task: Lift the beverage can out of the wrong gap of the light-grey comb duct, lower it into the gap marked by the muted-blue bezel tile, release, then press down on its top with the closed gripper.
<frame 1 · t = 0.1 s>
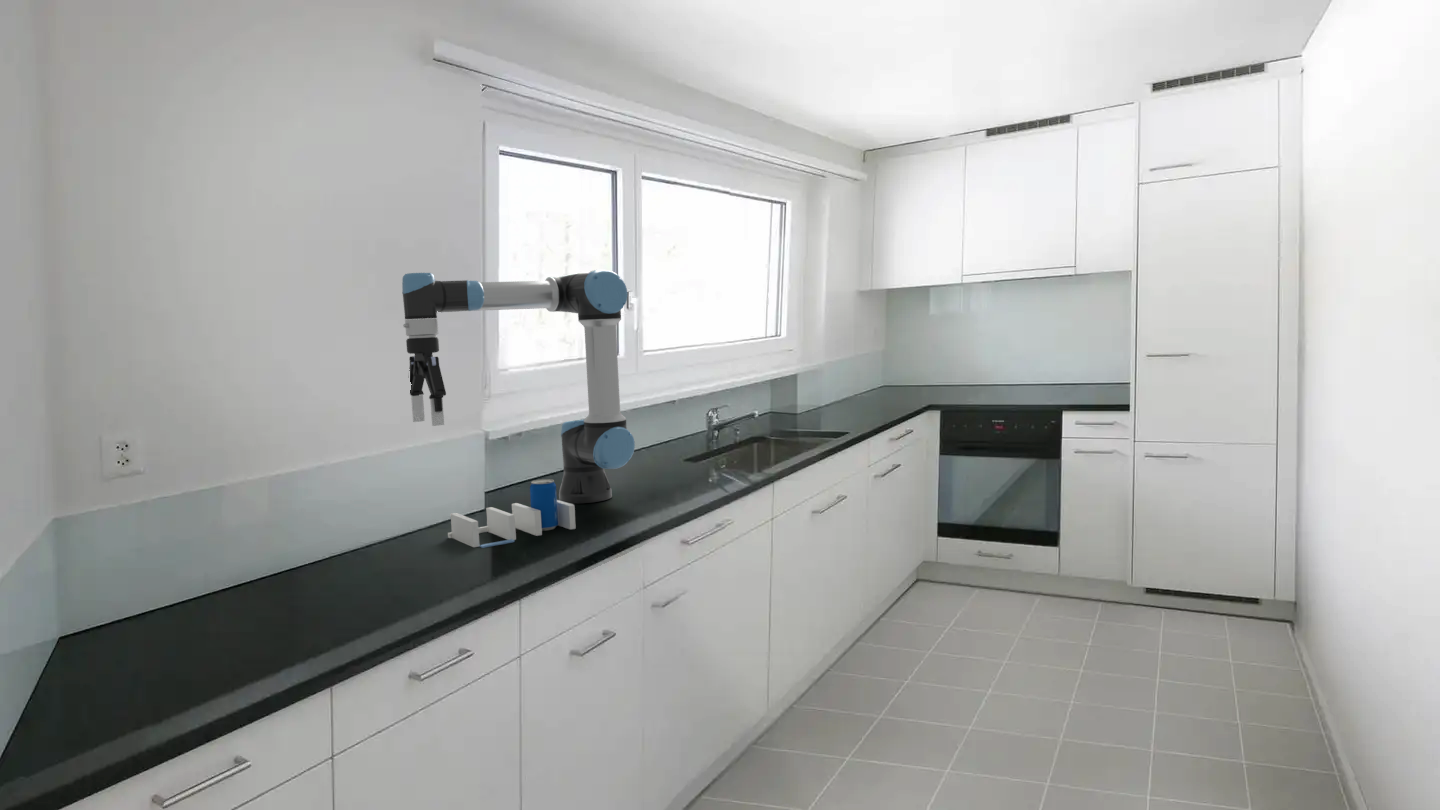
hand: (428, 423, 238), 28 cm above the countertop, fingers open, 13 cm apart
beverage can: (545, 529, 243), resting in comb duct
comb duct: (515, 533, 239), on the countertop
blue bezel: (497, 544, 228), on the countertop
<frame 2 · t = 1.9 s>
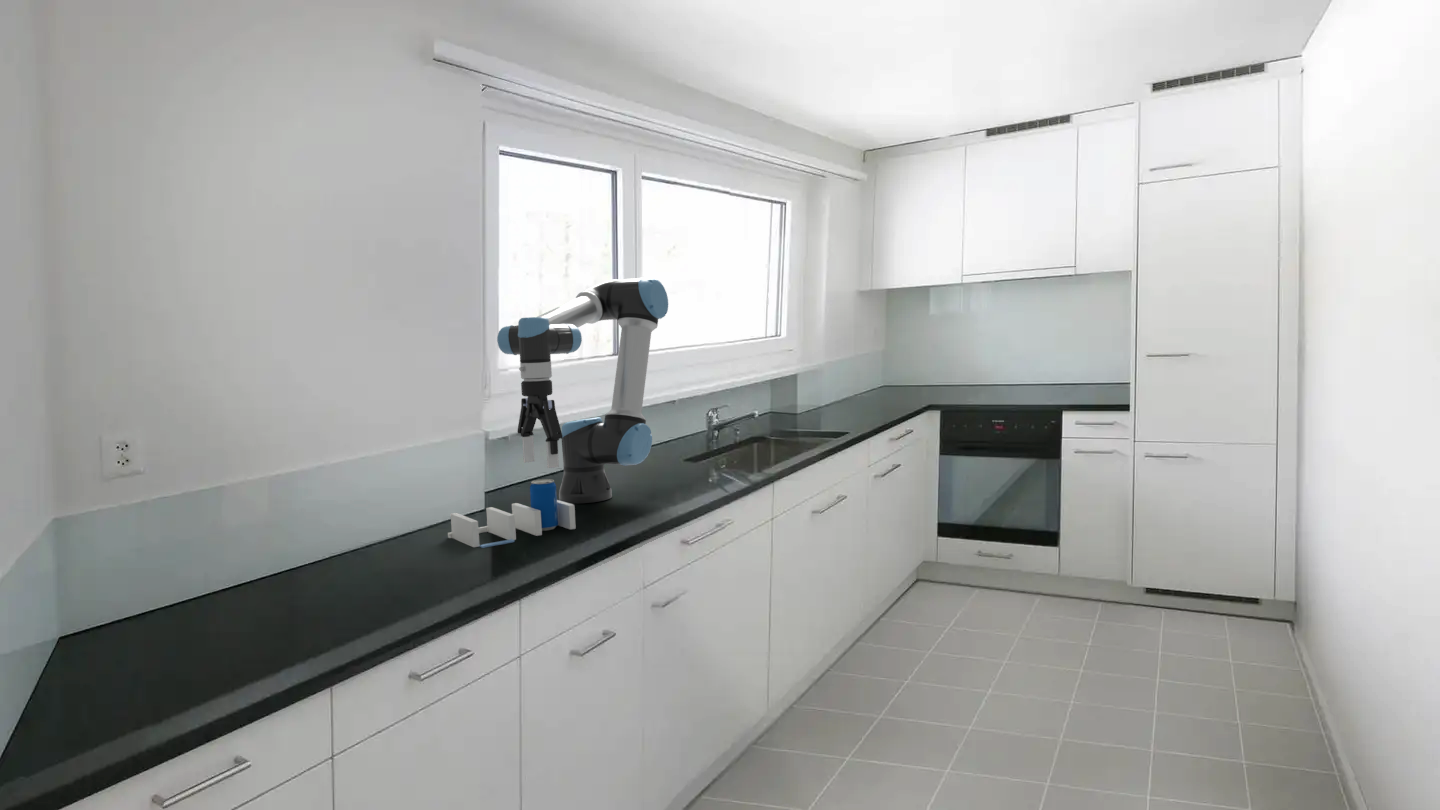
hand: (540, 464, 242), 16 cm above the countertop, fingers open, 13 cm apart
nothing on the countertop moved.
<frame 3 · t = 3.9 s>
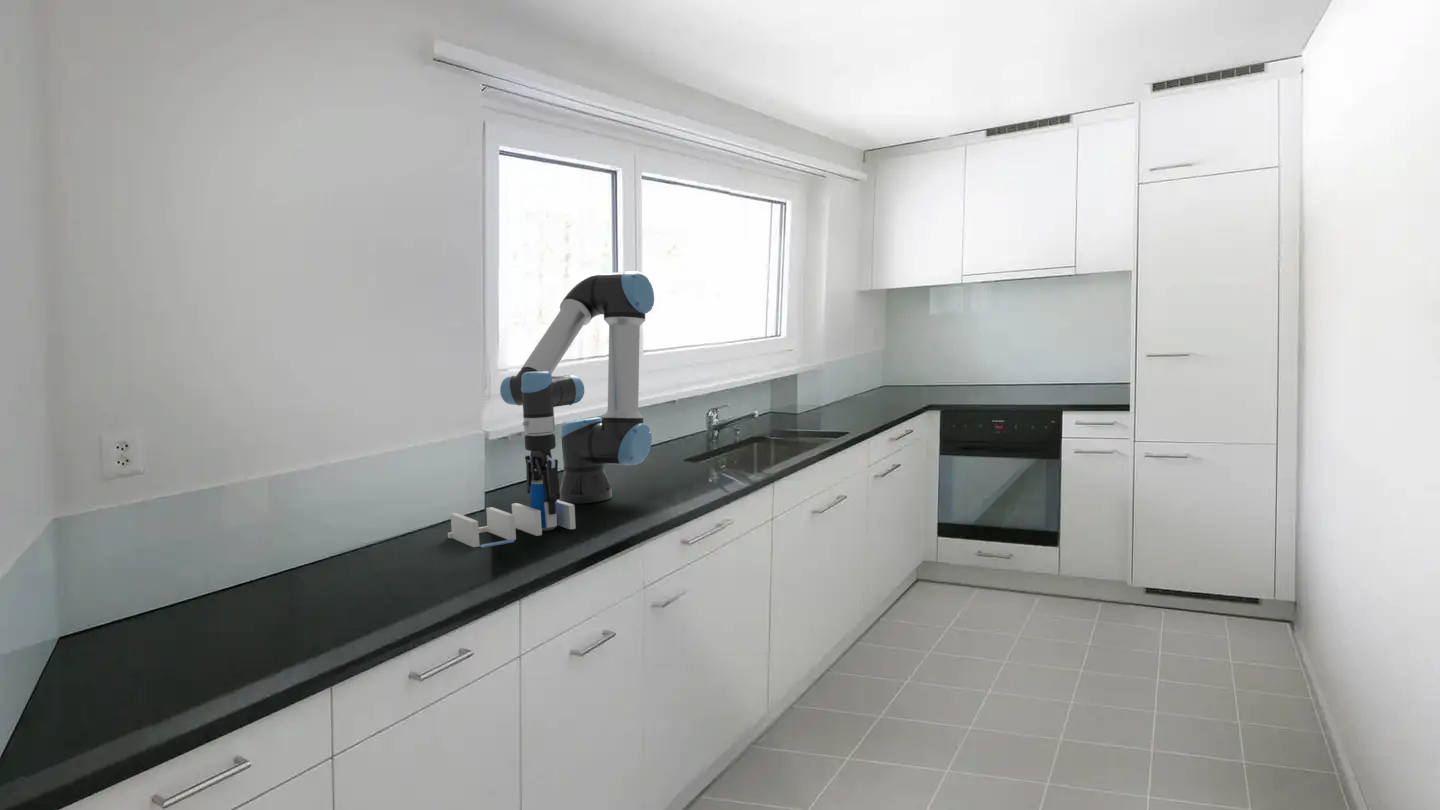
hand: (545, 524, 243), 1 cm above the countertop, fingers closed on beverage can, 6 cm apart
beverage can: (545, 529, 243), resting in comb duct, touching gripper
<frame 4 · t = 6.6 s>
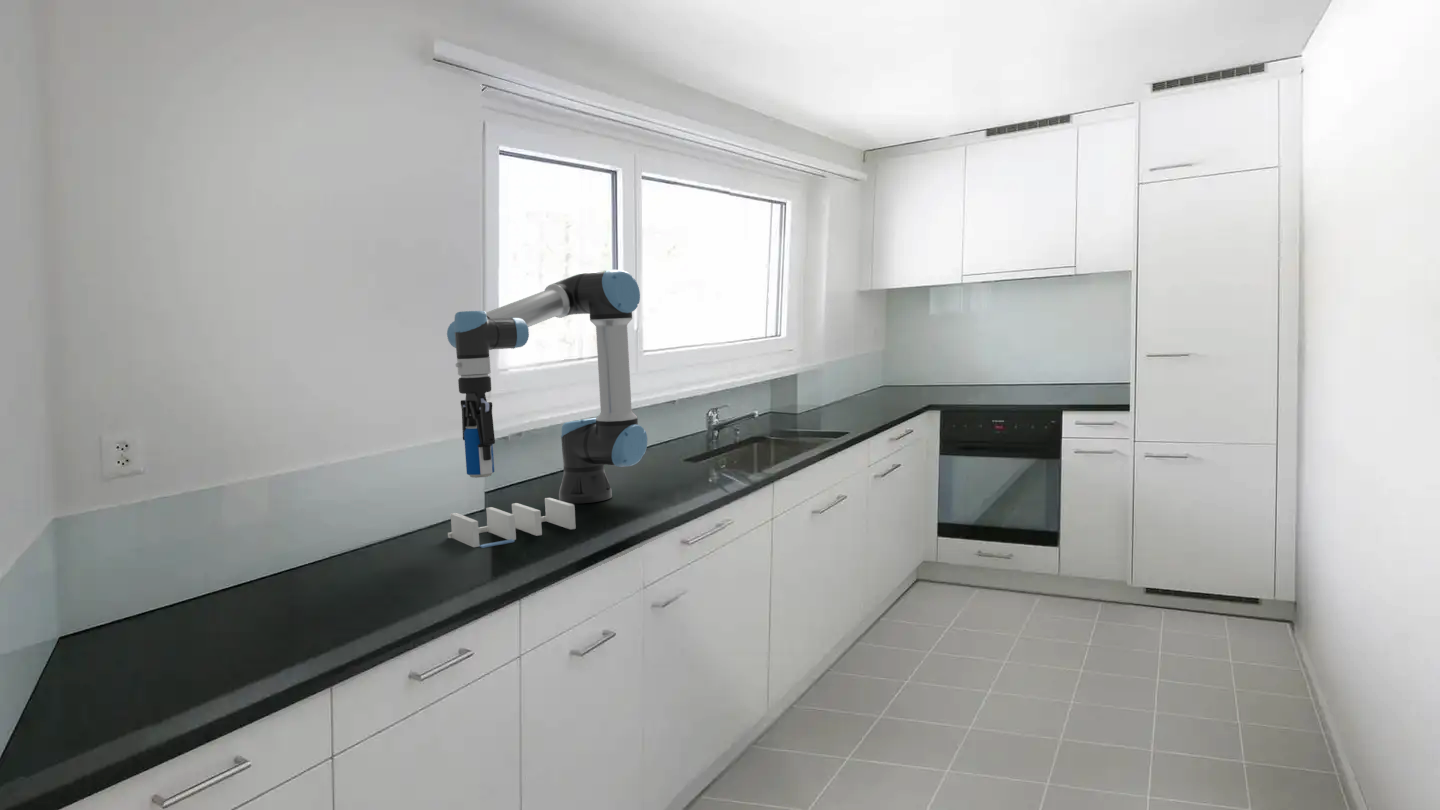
hand: (480, 471, 232), 16 cm above the countertop, fingers closed on beverage can, 6 cm apart
beverage can: (480, 476, 233), point 15 cm above the countertop, touching gripper
when the fingers open (3 cm above the countertop, at t = 9.3 s): beverage can drops 2 cm, resting in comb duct.
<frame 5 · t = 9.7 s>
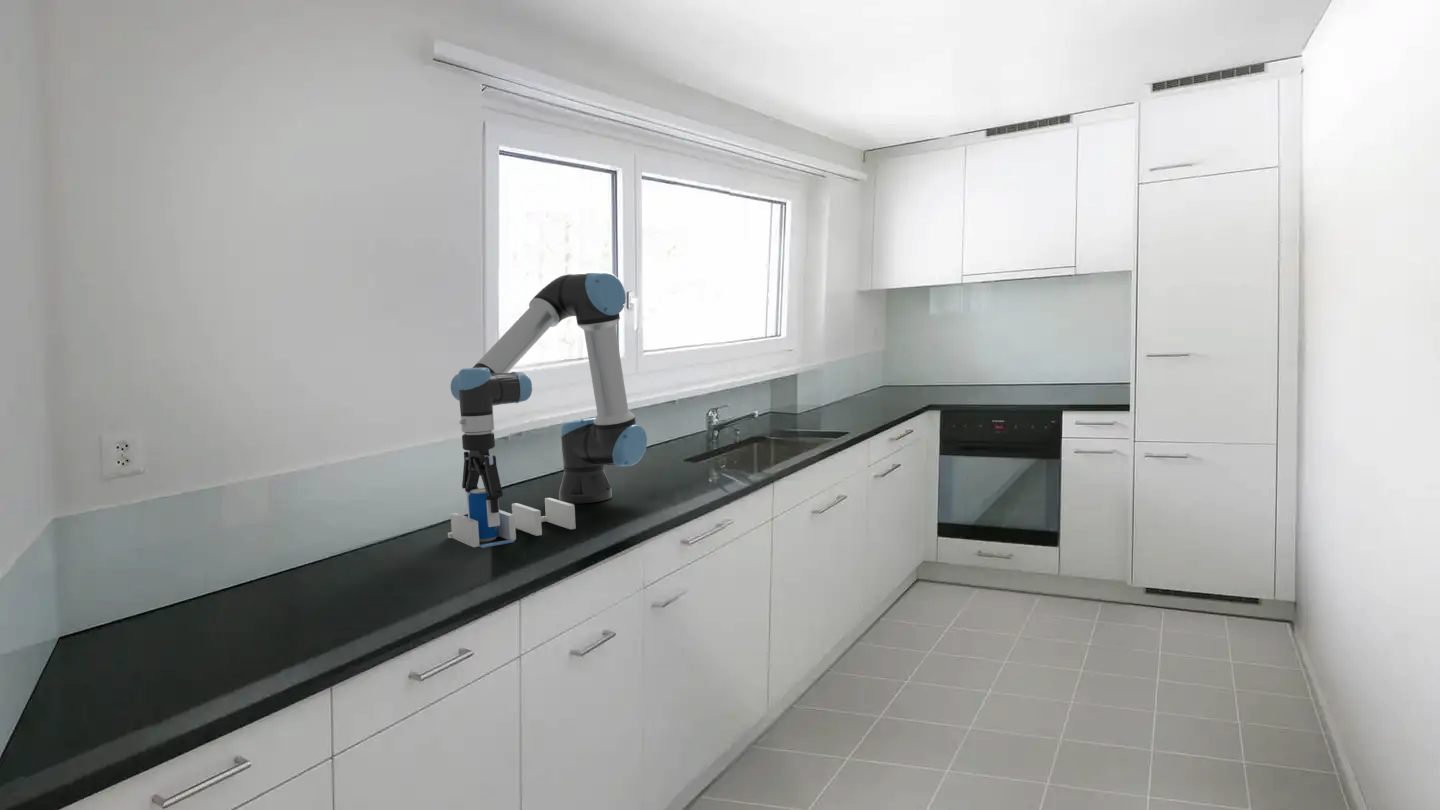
hand: (483, 522, 234), 4 cm above the countertop, fingers open, 11 cm apart
beverage can: (485, 540, 234), resting in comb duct
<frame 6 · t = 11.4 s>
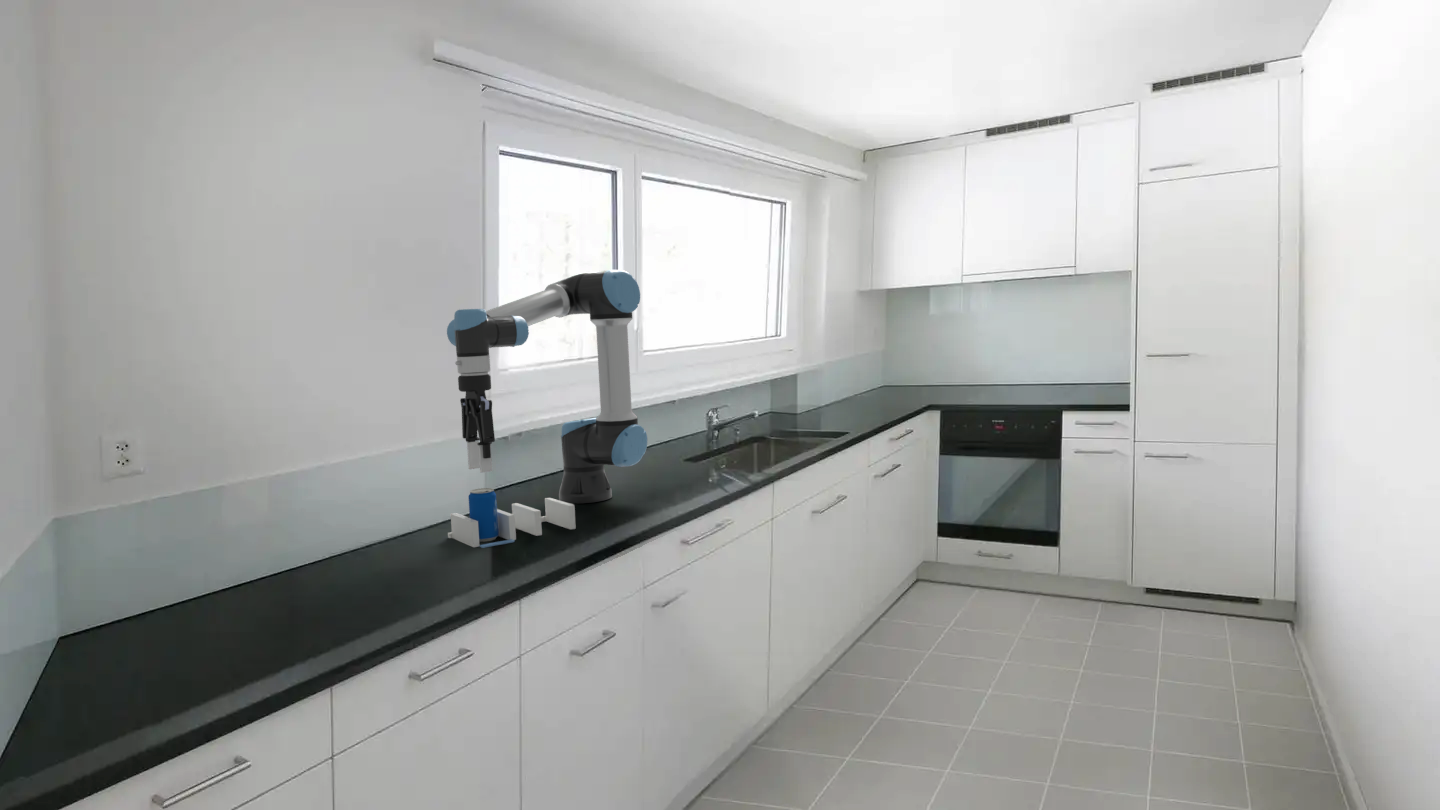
hand: (480, 469, 232), 17 cm above the countertop, fingers open, 6 cm apart
nothing on the countertop moved.
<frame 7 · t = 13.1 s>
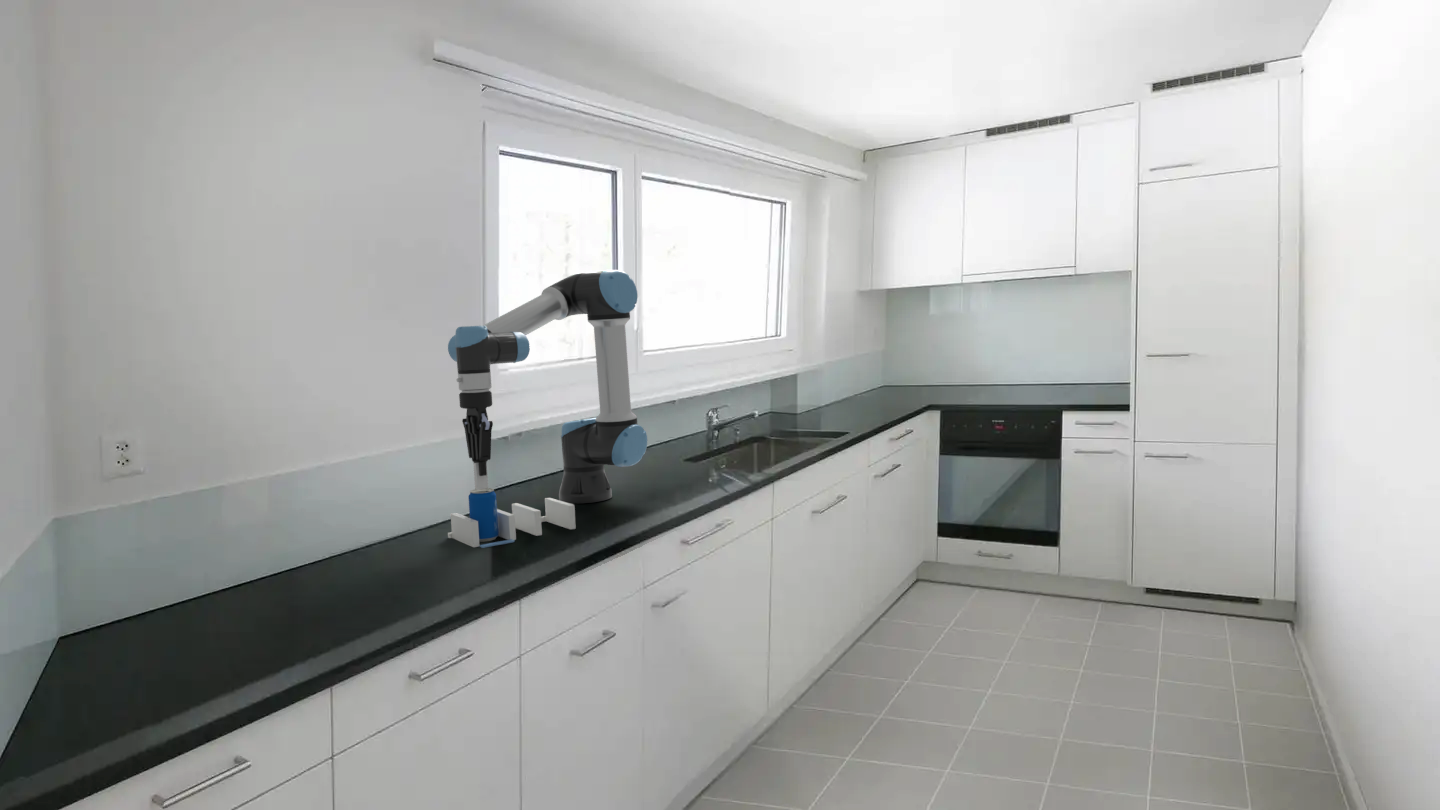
hand: (481, 488, 233), 12 cm above the countertop, fingers closed
nothing on the countertop moved.
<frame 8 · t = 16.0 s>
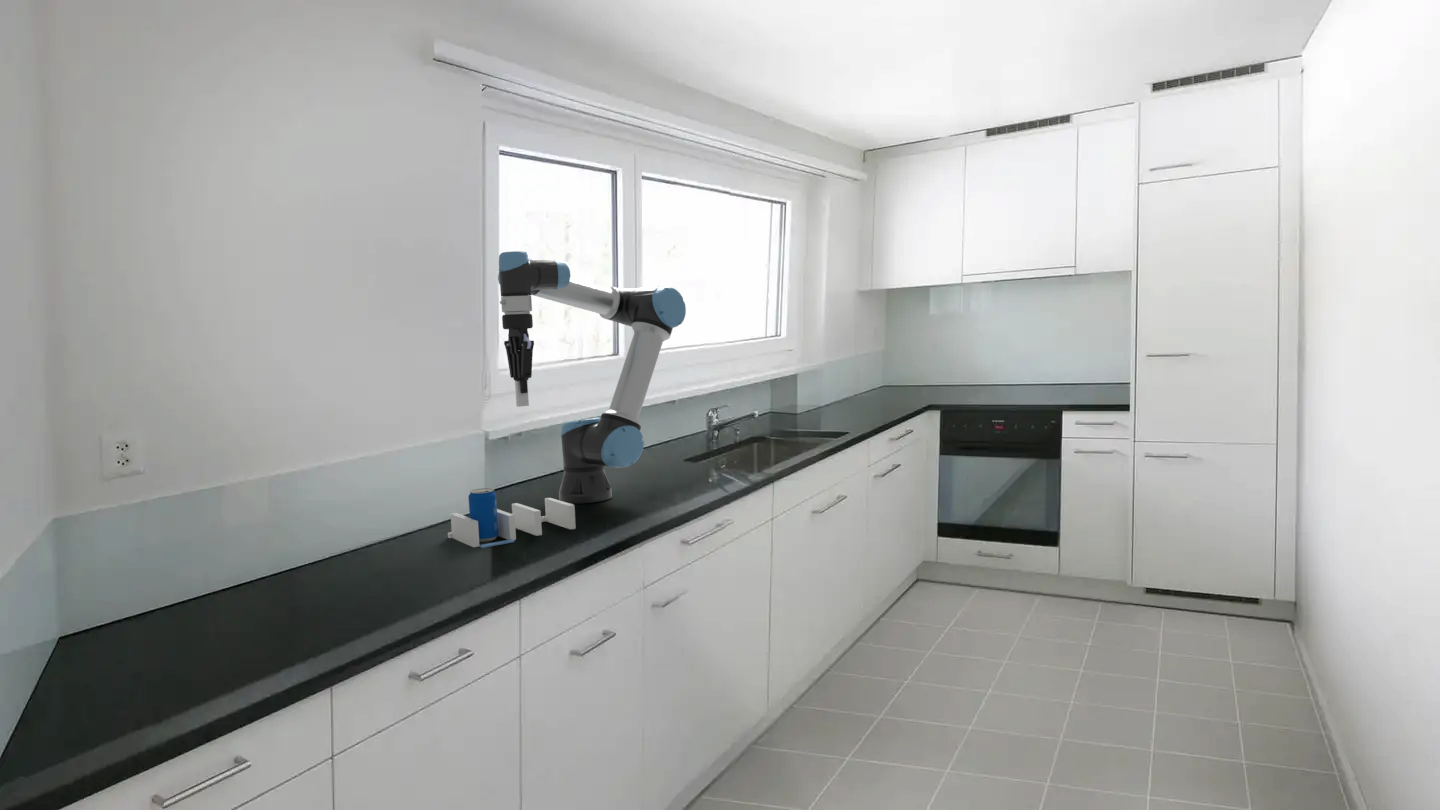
hand: (522, 405, 248), 30 cm above the countertop, fingers closed
nothing on the countertop moved.
at the end: beverage can inside the target area (0.0 cm from its centre), resting in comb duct; beverage can tilted 0°; the gripper is holding nothing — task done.
